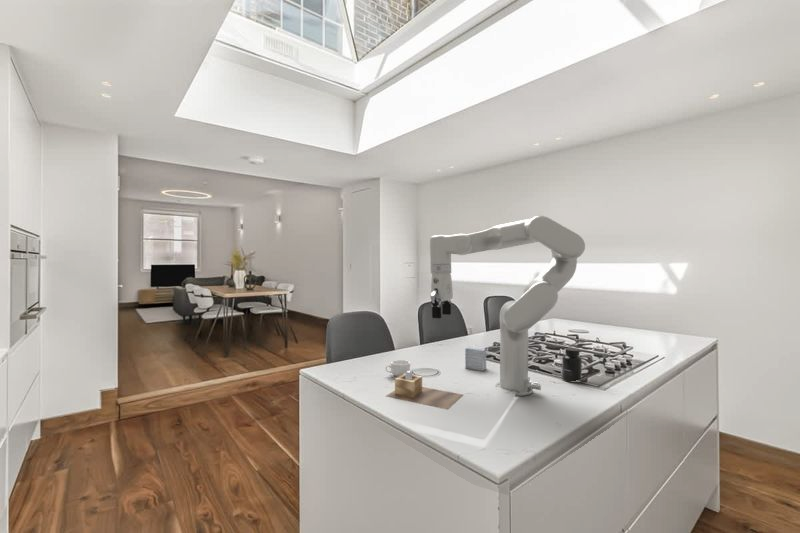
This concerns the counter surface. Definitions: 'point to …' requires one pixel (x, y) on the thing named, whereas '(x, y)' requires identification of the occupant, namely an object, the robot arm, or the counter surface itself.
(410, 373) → the steel rod
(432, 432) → the counter surface
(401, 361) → the teacup
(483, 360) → the medicine box
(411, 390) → the wooden storage bin
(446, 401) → the walnut board
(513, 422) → the counter surface
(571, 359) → the supplement bottle
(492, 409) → the counter surface
